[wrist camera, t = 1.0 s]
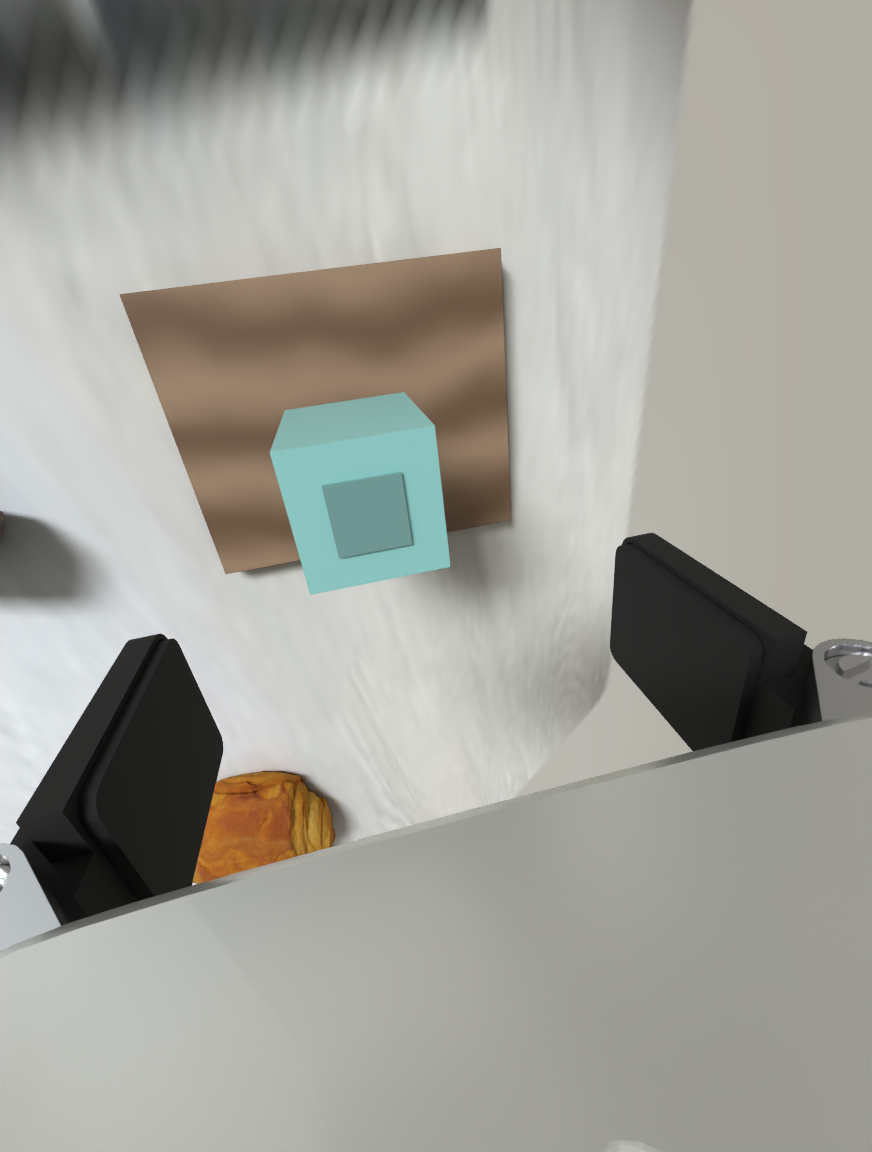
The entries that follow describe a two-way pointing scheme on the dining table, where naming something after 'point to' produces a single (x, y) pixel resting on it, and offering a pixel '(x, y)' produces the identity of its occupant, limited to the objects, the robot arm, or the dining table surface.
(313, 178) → the dining table surface
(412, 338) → the stud board
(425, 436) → the teal block
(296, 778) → the croissant
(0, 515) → the perforated stone tool
